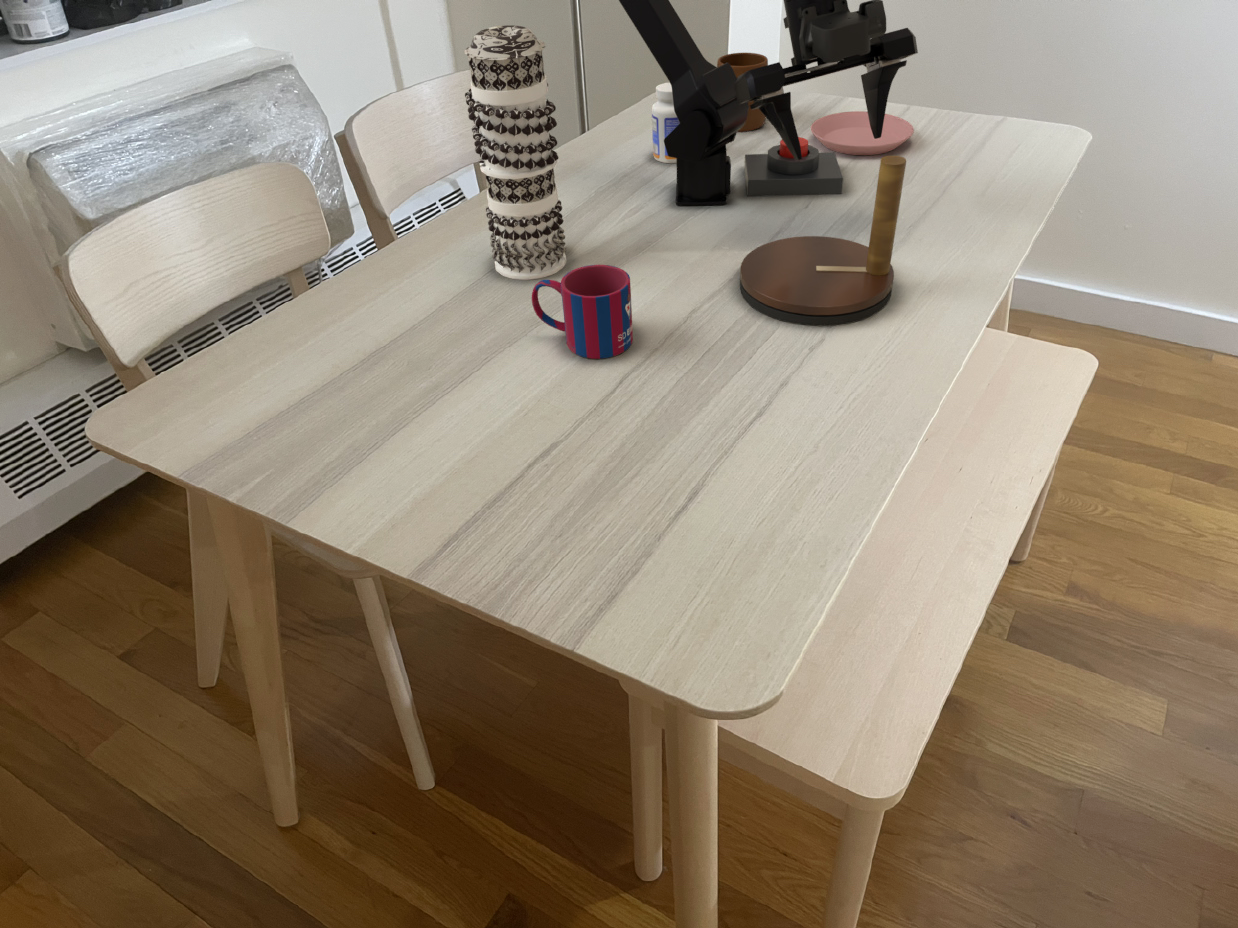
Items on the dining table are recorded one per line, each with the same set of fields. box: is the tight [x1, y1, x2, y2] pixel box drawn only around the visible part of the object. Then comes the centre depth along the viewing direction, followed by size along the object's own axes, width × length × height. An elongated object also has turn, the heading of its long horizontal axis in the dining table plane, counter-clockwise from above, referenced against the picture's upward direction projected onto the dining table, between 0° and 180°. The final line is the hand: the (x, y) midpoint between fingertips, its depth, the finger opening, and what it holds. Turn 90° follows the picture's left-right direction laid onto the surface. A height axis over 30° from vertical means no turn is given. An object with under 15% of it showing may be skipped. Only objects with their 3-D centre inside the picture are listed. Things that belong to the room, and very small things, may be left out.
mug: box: [716, 52, 769, 133], centre depth 132 cm, size 12×8×9 cm, turn 142°
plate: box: [810, 110, 915, 156], centre depth 127 cm, size 14×14×2 cm
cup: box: [531, 264, 634, 360], centre depth 88 cm, size 7×10×7 cm
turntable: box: [739, 154, 907, 315], centre depth 91 cm, size 16×16×13 cm
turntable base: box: [739, 279, 893, 327], centre depth 95 cm, size 16×16×1 cm
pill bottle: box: [651, 82, 680, 164], centre depth 124 cm, size 5×5×10 cm
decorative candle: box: [464, 24, 568, 281], centre depth 96 cm, size 9×9×25 cm
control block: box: [743, 144, 844, 197], centre depth 117 cm, size 12×9×4 cm
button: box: [779, 136, 809, 158], centre depth 115 cm, size 4×4×2 cm
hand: (838, 149), depth 98 cm, fingers open, 9 cm apart
